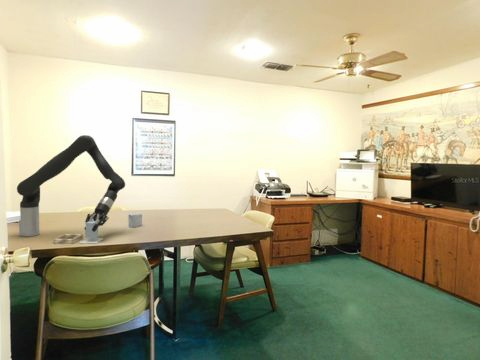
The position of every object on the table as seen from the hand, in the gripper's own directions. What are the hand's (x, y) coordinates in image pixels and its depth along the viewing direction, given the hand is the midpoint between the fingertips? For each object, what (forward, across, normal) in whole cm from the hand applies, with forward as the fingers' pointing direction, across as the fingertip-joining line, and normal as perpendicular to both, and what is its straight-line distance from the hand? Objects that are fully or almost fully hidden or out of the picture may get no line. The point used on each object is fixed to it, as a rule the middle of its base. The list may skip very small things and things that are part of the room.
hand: (89, 230), depth 171 cm
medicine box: (-24, +1, +34) cm, 41 cm away
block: (+2, 0, +5) cm, 5 cm away
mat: (+3, 0, +6) cm, 7 cm away
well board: (+7, -12, +3) cm, 14 cm away
